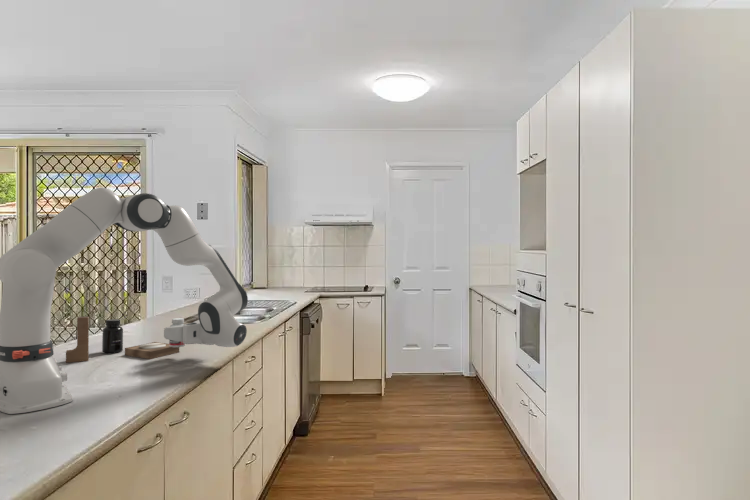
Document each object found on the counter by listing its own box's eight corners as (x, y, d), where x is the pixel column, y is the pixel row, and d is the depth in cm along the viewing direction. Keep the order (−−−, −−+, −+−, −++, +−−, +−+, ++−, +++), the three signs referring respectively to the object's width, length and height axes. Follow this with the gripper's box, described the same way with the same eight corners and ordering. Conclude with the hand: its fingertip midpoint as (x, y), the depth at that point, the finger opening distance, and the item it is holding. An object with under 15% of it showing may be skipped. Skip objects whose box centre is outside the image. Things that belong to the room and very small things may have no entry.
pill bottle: (183, 347, 177) (183, 319, 177) (167, 347, 176) (167, 319, 176) (187, 344, 182) (187, 317, 182) (171, 344, 182) (172, 317, 182)
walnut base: (179, 352, 188) (179, 344, 188) (150, 359, 177) (150, 350, 177) (154, 348, 194) (154, 340, 194) (124, 355, 182) (124, 347, 182)
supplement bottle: (116, 354, 184) (116, 321, 184) (98, 353, 184) (98, 321, 184) (126, 350, 191) (126, 318, 191) (108, 350, 191) (108, 318, 191)
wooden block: (88, 359, 176) (88, 316, 176) (88, 361, 173) (88, 317, 173) (66, 360, 173) (66, 317, 173) (65, 362, 170) (65, 318, 170)
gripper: (226, 318, 183) (197, 316, 189) (182, 325, 165) (152, 322, 171) (226, 336, 183) (197, 332, 189) (182, 345, 165) (152, 341, 171)
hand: (175, 328), depth 180 cm, fingers closed on pill bottle, 5 cm apart
